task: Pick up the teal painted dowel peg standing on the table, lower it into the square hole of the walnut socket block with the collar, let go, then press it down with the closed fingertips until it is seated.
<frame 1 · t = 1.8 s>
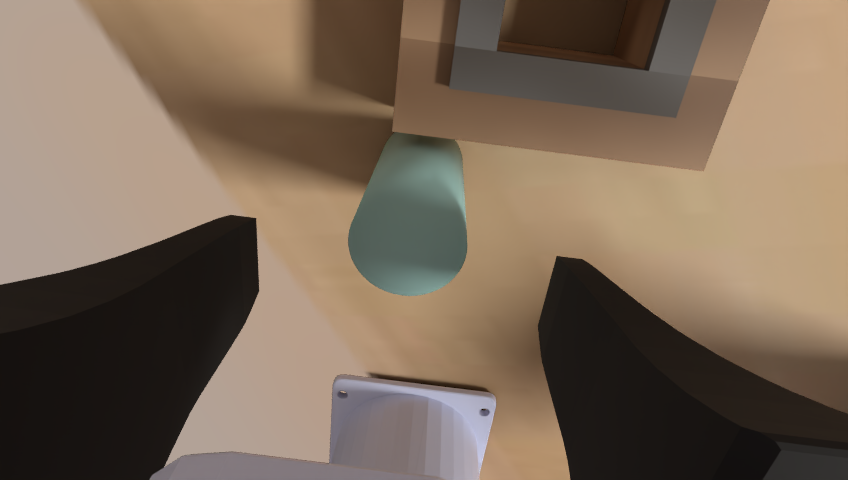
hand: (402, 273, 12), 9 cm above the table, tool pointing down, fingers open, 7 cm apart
peg: (421, 163, 20), on the table
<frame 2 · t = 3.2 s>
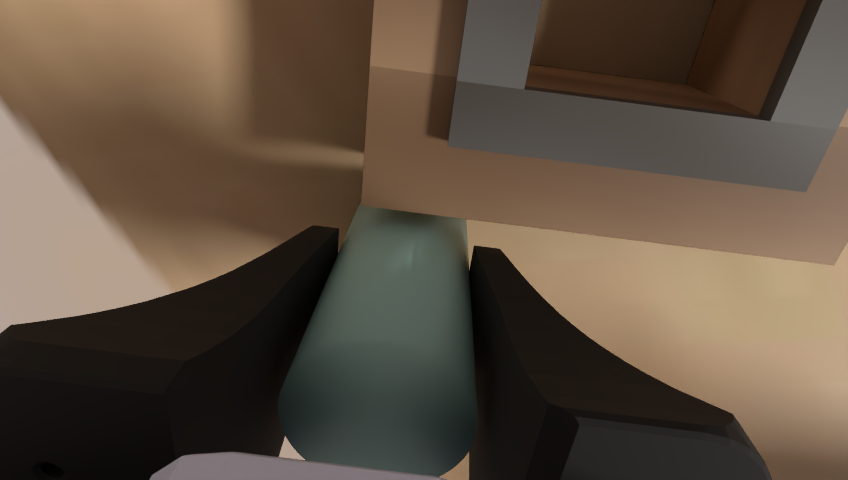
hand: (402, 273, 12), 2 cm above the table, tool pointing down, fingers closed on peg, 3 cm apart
peg: (410, 229, 14), on the table, touching gripper
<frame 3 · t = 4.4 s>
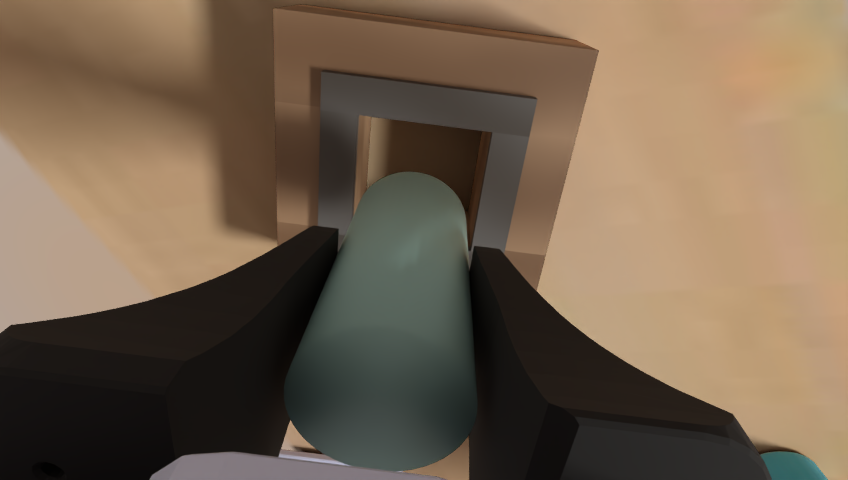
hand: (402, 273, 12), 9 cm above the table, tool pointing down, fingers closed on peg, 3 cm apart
peg: (410, 224, 15), point 7 cm above the table, touching gripper
tube: (763, 476, 28), on the table
socket: (422, 155, 20), on the table
when the fingers open (4 cm above the table, at t = 5.9 s): peg drops 1 cm, resting in socket.
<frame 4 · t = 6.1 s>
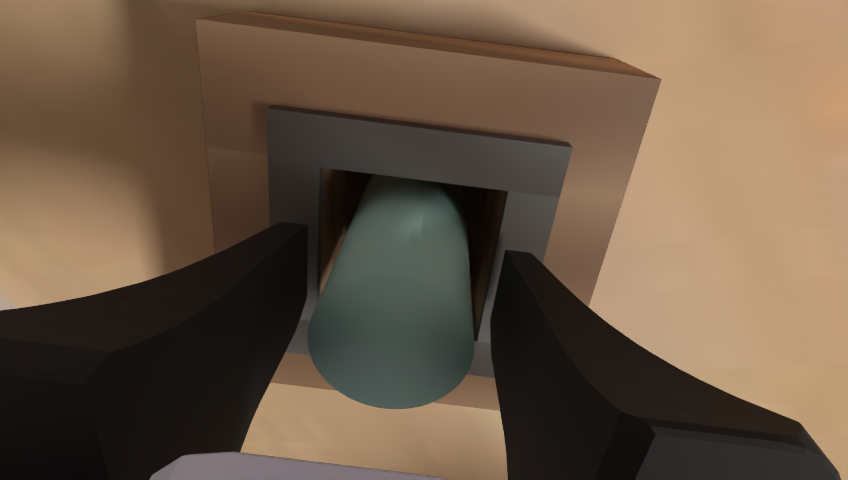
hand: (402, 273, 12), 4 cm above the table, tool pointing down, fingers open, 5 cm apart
peg: (414, 204, 16), resting in socket
socket: (414, 205, 16), on the table
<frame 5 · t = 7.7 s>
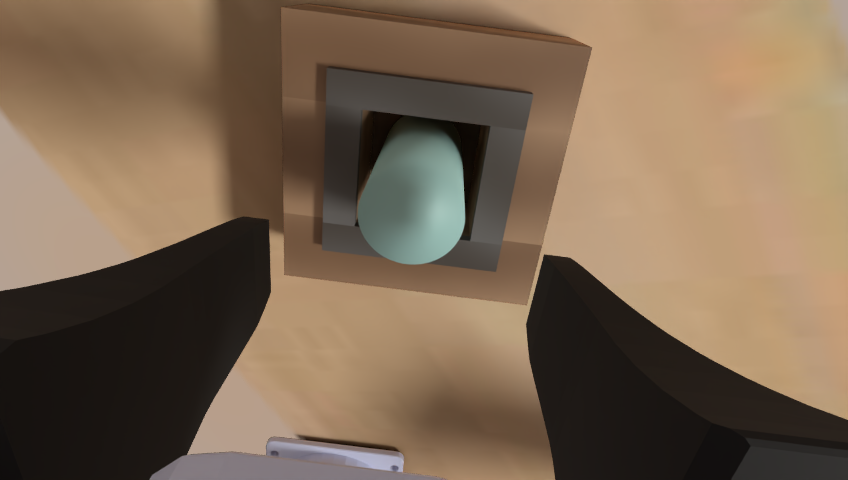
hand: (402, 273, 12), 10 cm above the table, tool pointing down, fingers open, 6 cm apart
peg: (423, 148, 21), resting in socket
socket: (423, 149, 21), on the table
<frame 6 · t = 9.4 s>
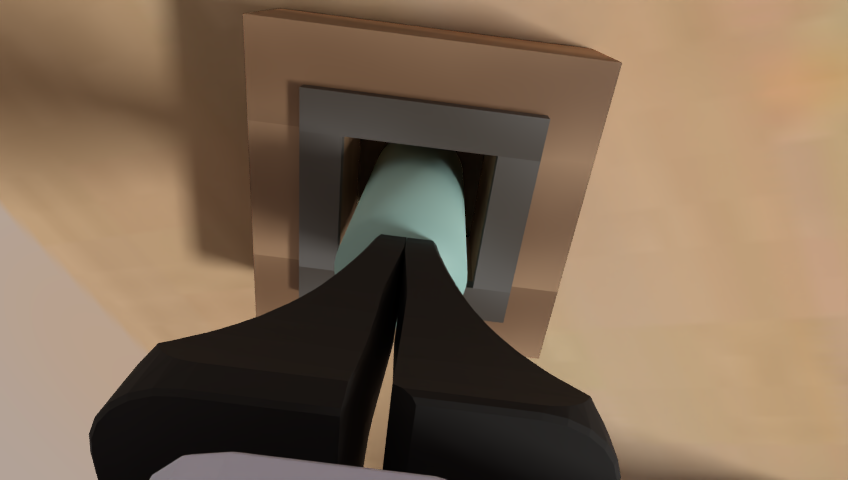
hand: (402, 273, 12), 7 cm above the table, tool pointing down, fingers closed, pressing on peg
peg: (418, 175, 18), resting in socket, touching gripper
socket: (418, 176, 18), on the table
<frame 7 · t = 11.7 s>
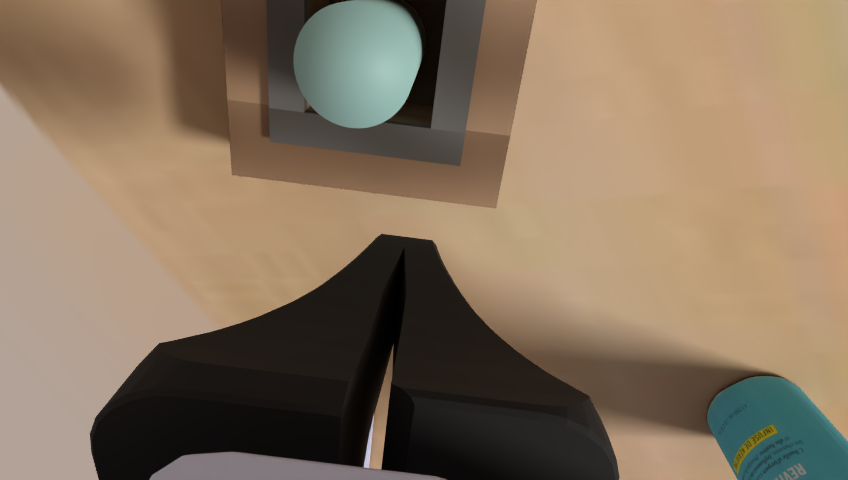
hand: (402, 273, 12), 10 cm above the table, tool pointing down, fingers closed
peg: (384, 41, 20), resting in socket
tube: (747, 406, 27), on the table
socket: (384, 41, 20), on the table
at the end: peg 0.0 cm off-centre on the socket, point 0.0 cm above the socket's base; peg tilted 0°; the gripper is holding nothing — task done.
